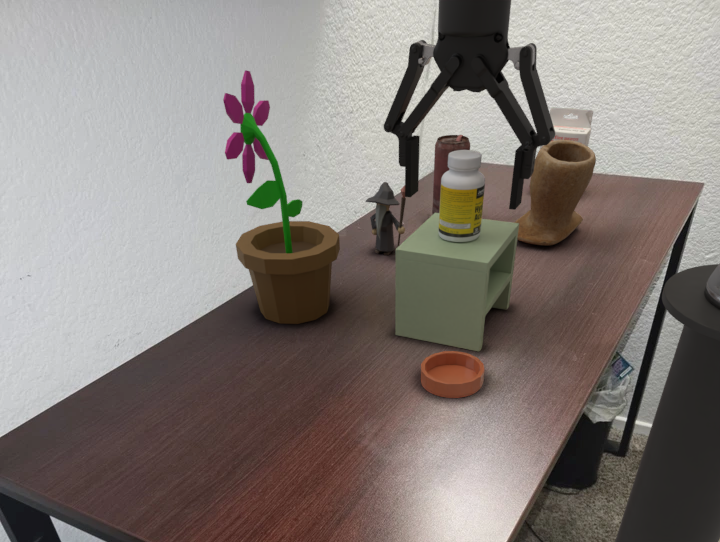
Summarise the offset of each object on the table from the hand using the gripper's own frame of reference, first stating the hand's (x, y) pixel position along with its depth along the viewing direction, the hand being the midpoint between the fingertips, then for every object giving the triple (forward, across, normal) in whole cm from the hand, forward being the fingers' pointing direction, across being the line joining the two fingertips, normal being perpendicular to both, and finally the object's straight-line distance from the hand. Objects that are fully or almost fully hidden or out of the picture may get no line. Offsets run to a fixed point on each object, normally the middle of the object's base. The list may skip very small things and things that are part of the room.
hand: (461, 200), depth 82 cm
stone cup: (+17, +5, +36) cm, 40 cm away
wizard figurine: (+17, -18, +19) cm, 31 cm away
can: (+17, -14, +37) cm, 43 cm away
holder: (+16, +5, -15) cm, 23 cm away
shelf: (+16, 0, 0) cm, 16 cm away
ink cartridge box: (+17, +1, +59) cm, 61 cm away
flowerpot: (+17, -23, -5) cm, 29 cm away
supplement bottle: (+5, 0, 0) cm, 5 cm away
